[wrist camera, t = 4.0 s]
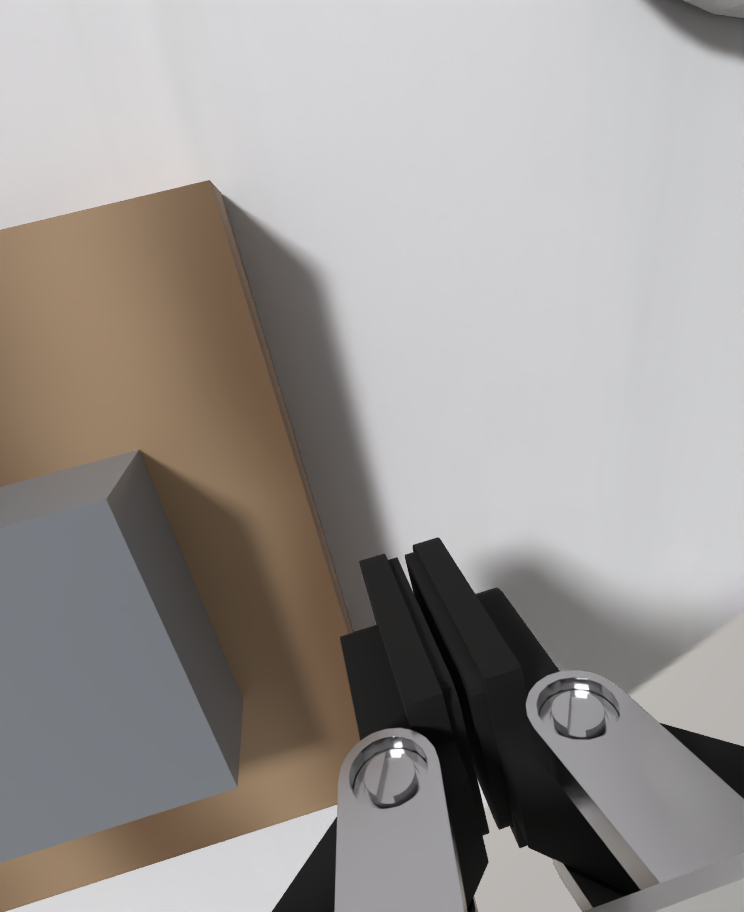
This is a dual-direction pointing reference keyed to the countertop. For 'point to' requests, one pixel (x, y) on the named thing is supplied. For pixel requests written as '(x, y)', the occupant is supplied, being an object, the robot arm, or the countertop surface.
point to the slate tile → (103, 661)
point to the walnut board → (181, 491)
